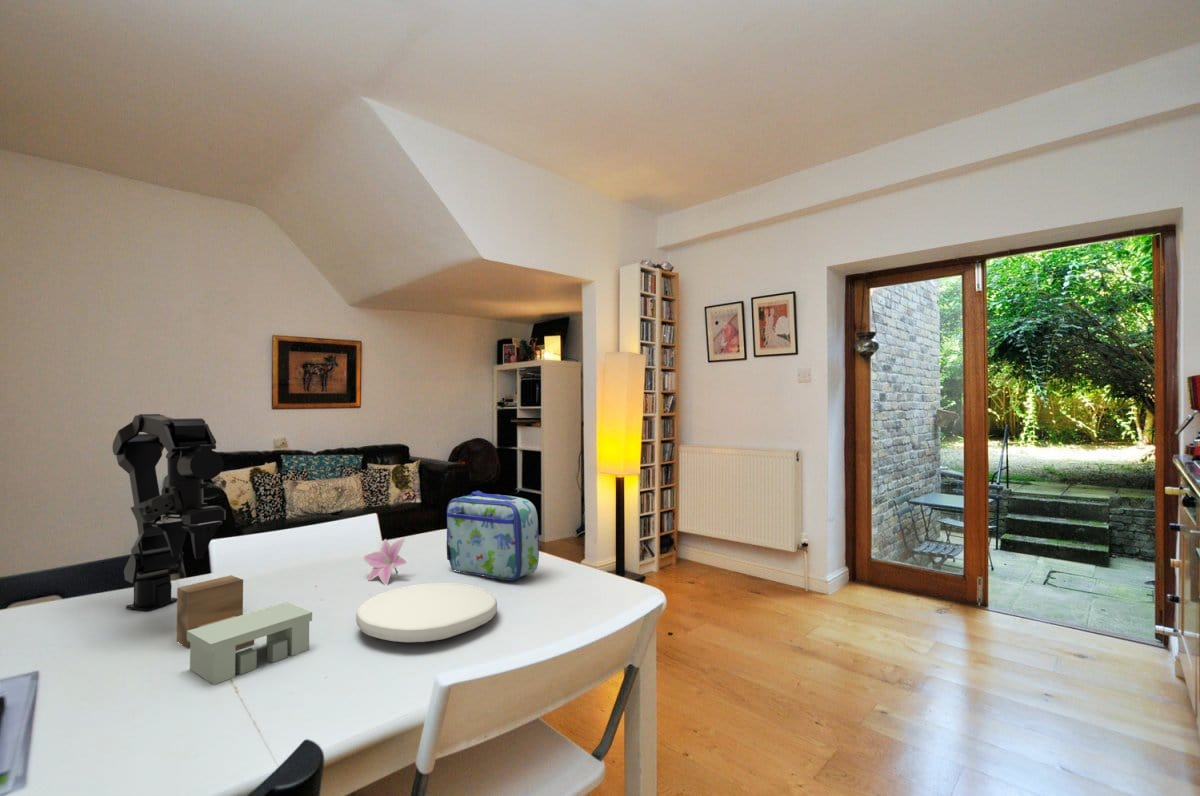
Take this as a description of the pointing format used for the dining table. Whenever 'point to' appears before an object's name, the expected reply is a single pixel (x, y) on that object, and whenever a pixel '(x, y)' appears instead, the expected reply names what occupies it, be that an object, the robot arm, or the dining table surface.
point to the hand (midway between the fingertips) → (187, 557)
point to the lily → (385, 560)
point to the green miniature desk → (219, 639)
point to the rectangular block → (208, 605)
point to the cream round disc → (426, 612)
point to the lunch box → (492, 535)
